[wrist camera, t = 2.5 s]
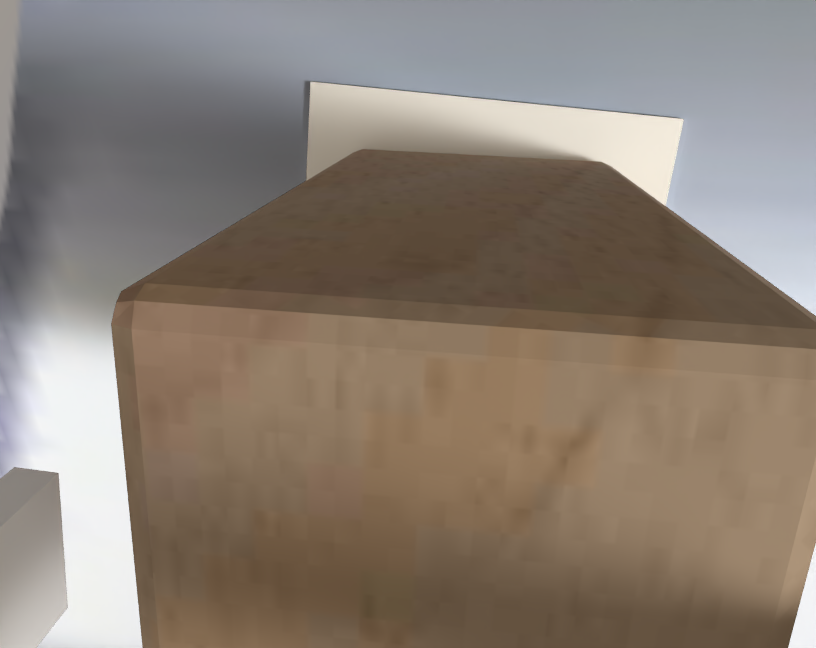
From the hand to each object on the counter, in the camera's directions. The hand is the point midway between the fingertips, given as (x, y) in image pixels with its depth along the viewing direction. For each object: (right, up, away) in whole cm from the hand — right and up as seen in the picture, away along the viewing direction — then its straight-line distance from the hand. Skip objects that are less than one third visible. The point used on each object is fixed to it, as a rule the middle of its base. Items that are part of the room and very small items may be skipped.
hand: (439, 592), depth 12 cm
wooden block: (+2, +6, +18) cm, 19 cm away
